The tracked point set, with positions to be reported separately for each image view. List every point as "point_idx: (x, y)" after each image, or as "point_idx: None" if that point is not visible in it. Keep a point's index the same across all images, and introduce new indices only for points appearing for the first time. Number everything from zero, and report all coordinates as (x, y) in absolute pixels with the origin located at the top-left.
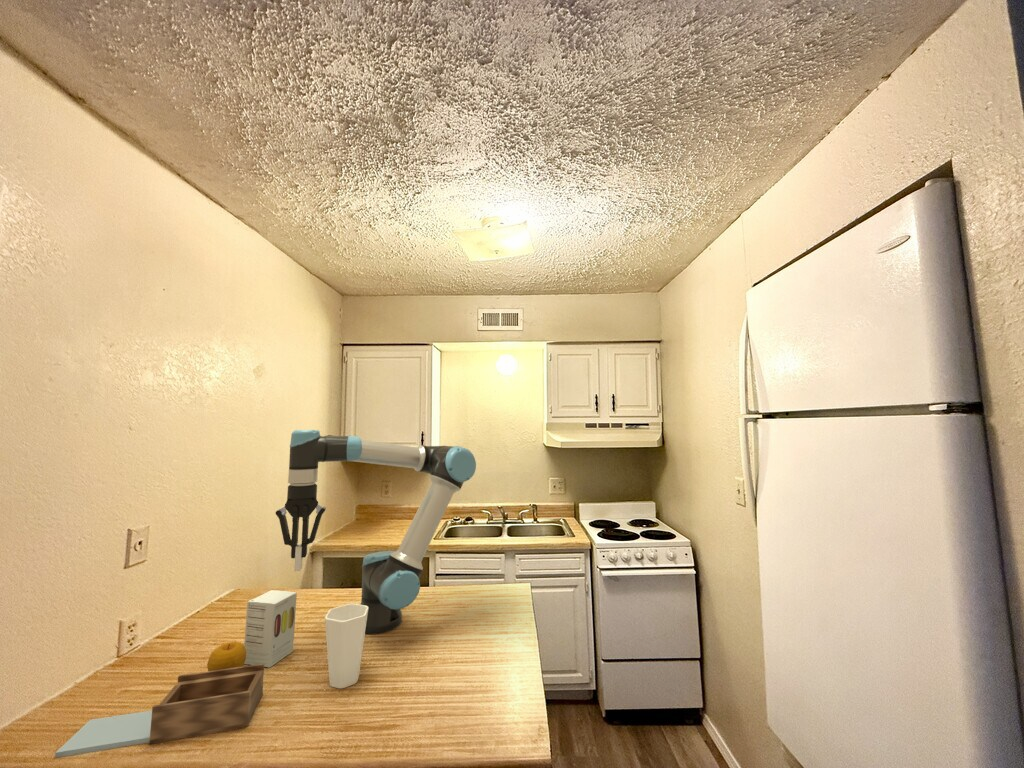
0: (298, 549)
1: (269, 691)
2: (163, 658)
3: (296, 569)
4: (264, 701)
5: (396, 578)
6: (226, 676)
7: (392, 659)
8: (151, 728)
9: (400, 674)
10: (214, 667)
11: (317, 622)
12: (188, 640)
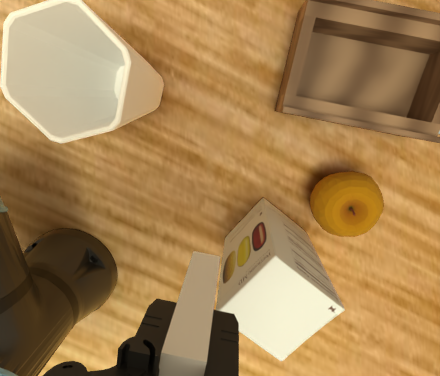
0: (187, 339)
1: (263, 115)
2: (427, 314)
3: (209, 259)
4: (271, 85)
5: None
6: (350, 114)
7: None
8: None
9: None
10: (368, 176)
11: None
12: (391, 358)
